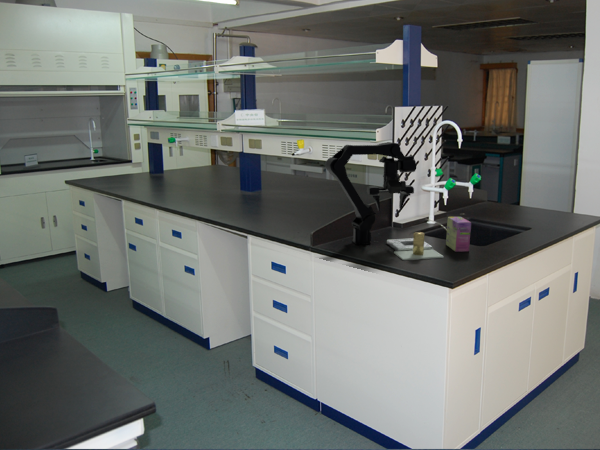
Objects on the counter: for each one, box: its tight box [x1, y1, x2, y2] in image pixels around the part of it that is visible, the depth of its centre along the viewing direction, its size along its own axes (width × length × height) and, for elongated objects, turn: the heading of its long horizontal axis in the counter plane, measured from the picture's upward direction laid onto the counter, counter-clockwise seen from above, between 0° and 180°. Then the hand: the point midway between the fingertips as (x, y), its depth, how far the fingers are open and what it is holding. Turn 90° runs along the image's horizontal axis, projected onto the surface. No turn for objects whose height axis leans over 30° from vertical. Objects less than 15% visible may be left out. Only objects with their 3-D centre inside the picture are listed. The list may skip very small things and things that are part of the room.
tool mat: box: [393, 248, 444, 261], centre depth 198 cm, size 16×10×1 cm, turn 99°
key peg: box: [412, 231, 425, 255], centre depth 197 cm, size 4×4×8 cm
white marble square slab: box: [386, 237, 433, 251], centre depth 210 cm, size 14×14×2 cm
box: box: [445, 216, 472, 253], centre depth 206 cm, size 10×6×12 cm, turn 5°
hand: (389, 210), depth 218 cm, fingers open, 9 cm apart
